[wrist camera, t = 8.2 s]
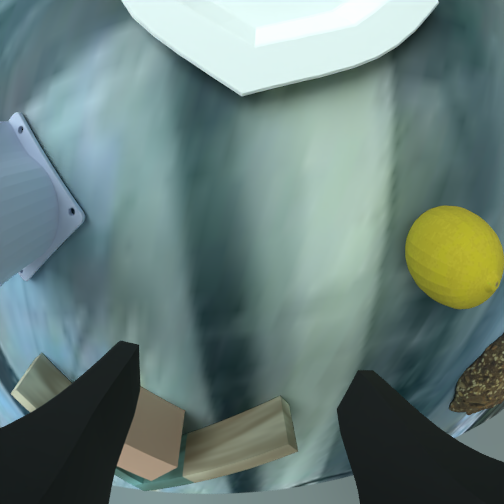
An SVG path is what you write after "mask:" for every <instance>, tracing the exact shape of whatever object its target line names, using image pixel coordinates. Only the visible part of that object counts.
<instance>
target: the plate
mask: <svg viewBox="0 0 504 504" xmlns="http://www.w3.org/2000/svg"><path fill="white" fill-rule="evenodd" d="M121 1H122V2H123V4H124V5H125V7H126V8H127V10H128V11H129V13H130V14H131V16H132V17H133V18H134V19H135V20H136V21H137V22H138V23H139V24H140V25H141V26H143V27H144V28H145V29H146V30H147V31H148V32H149V33H150V34H151V35H152V36H154V37H155V38H157V39H158V40H159V41H161V42H162V43H164V44H165V45H166V46H168V47H169V48H170V49H172V50H173V51H174V52H176V53H177V54H178V55H180V56H181V57H183V58H184V59H186V60H188V61H189V62H191V63H192V64H194V65H195V66H197V67H198V68H199V69H201V70H202V71H204V72H205V73H207V74H208V75H210V76H211V77H213V78H214V79H216V80H217V81H219V82H221V83H222V84H224V85H225V86H227V87H228V88H230V89H231V90H233V91H234V92H236V93H237V94H239V95H240V96H245V95H249V94H253V93H257V92H261V91H265V90H269V89H273V88H277V87H281V86H285V85H289V84H294V83H298V82H302V81H306V80H311V79H316V78H320V77H324V76H327V75H331V74H334V73H338V72H341V71H345V70H349V69H352V68H355V67H358V66H360V65H363V64H365V63H368V62H370V61H373V60H375V59H378V58H379V57H381V56H383V55H384V54H386V53H388V52H389V51H391V50H393V49H394V48H396V47H398V46H399V45H400V44H401V43H402V42H403V41H404V40H406V39H407V38H408V37H409V36H410V35H411V34H413V33H414V32H415V31H416V30H417V29H418V27H419V26H420V25H421V24H422V23H423V22H424V21H425V19H426V18H427V17H428V16H429V15H430V14H431V12H432V11H433V10H434V9H435V7H436V6H437V5H438V4H439V2H438V0H121Z"/></svg>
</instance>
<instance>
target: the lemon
mask: <svg viewBox="0 0 504 504" xmlns="http://www.w3.org/2000/svg"><path fill="white" fill-rule="evenodd" d="M405 258H406V262H407V266H408V270H409V272H410V274H411V275H412V277H413V279H414V281H415V282H416V284H417V285H418V286H419V288H420V289H422V290H423V291H424V292H425V293H426V294H427V295H428V296H429V297H431V298H432V299H434V300H435V301H437V302H439V303H441V304H443V305H446V306H449V307H452V308H455V309H469V308H472V307H475V306H478V305H480V304H482V303H483V302H485V301H486V300H487V299H488V298H489V297H490V296H491V295H492V294H493V293H494V292H495V291H496V289H497V288H498V286H499V284H500V281H501V278H502V274H503V270H504V255H503V249H502V245H501V243H500V241H499V238H498V236H497V235H496V233H495V232H494V231H493V229H492V228H491V227H490V226H489V225H488V224H487V223H486V222H485V221H484V220H483V219H482V218H480V217H479V216H478V215H476V214H474V213H472V212H470V211H468V210H466V209H464V208H461V207H457V206H439V207H436V208H432V209H430V210H428V211H426V212H425V213H423V214H422V215H421V216H420V217H419V218H418V219H417V220H416V221H415V222H414V224H413V225H412V227H411V228H410V231H409V233H408V236H407V239H406V245H405Z"/></svg>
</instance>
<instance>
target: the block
mask: <svg viewBox="0 0 504 504" xmlns="http://www.w3.org/2000/svg"><path fill="white" fill-rule="evenodd" d="M184 415H185V410H183V409H181V408H179V407H177V406H175V405H173V404H171V403H169V402H167V401H166V400H164V399H162V398H160V397H158V396H157V395H155V394H153V393H151V392H149V391H148V390H146V389H144V388H143V387H141V386H140V393H139V398H138V402H137V406H136V411H135V415H134V418H133V421H132V423H131V426H130V429H129V432H128V435H127V438H126V440H125V443H124V446H123V449H122V452H121V455H120V458H119V461H118V464H117V466H118V467H120V468H122V469H124V470H127V471H129V472H131V473H133V474H136V475H138V476H140V477H143V478H145V479H147V480H150V481H152V480H154V479H156V478H158V477H160V476H162V475H164V474H166V473H168V472H169V471H171V470H173V469H175V468H177V467H178V459H179V451H180V444H181V436H182V429H183V422H184Z"/></svg>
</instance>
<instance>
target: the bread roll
mask: <svg viewBox="0 0 504 504" xmlns="http://www.w3.org/2000/svg"><path fill="white" fill-rule="evenodd" d="M503 400H504V333H503V335H502V336H501V337H499V338H498V339H497V340H496V341H495V342H493V343H492V344H490V345H489V346H488V347H487V348H486V349H485V351H484V352H483V354H482V355H481V356H480V357H479V358H478V359H477V360H476V361H475V362H474V363H473V364H472V365H470V366H469V367H468V368H467V369H466V370H465V372H464V373H463V374H462V376H461V377H460V378H459V380H458V383H457V386H456V397H455V399H454V400H453V401H452V402H451V403H450V407H449V409H450V410H451V411H454V412H466V414H467V415H471V414H472V413H476V412H479V411H481V410H484V409H488V408H493V407H494V406H496V405H498V404H501V403H502V401H503Z"/></svg>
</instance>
